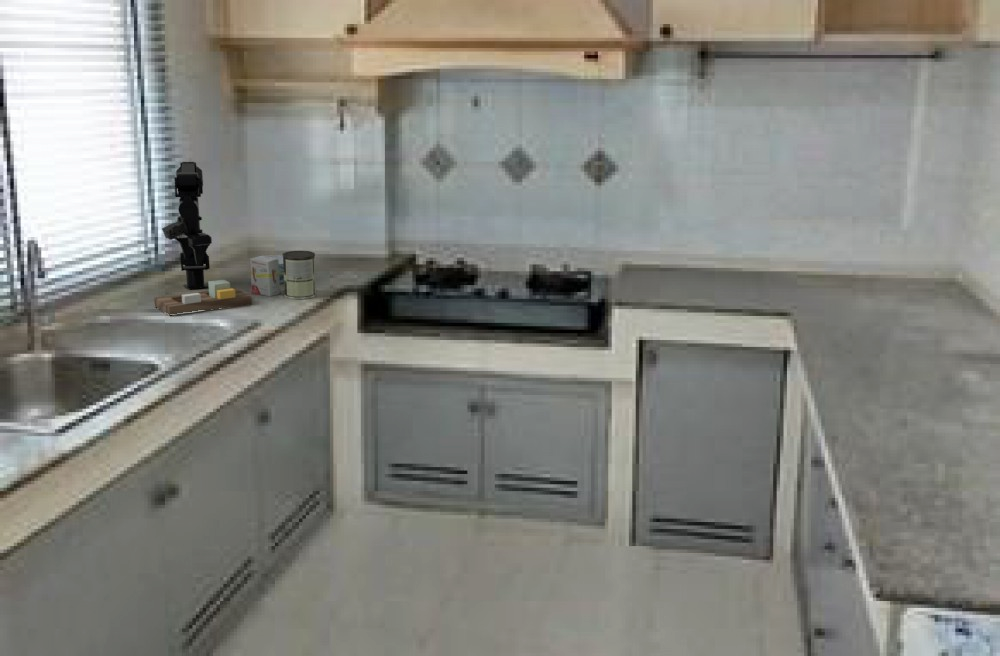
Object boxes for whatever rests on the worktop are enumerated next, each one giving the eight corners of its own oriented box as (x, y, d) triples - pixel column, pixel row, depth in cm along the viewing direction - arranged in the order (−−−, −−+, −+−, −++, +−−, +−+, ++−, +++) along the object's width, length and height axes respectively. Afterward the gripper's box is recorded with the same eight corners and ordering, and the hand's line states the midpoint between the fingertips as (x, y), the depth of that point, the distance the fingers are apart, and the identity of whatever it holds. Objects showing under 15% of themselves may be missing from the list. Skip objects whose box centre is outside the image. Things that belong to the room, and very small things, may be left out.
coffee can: (277, 295, 323) (276, 253, 319) (304, 290, 330) (303, 249, 326) (295, 301, 316) (294, 258, 312) (322, 296, 323) (321, 254, 319)
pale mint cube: (209, 303, 312) (208, 281, 310) (224, 301, 315) (223, 279, 313) (215, 306, 308) (214, 284, 306) (231, 304, 311) (229, 282, 309)
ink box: (250, 292, 325) (249, 257, 322) (261, 290, 329) (260, 255, 326) (269, 296, 321) (268, 261, 318) (280, 293, 325) (279, 258, 322)
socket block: (154, 307, 305) (153, 290, 304) (234, 296, 320) (234, 280, 319) (169, 316, 295) (168, 298, 294) (251, 304, 311) (250, 288, 309)
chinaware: (244, 279, 343) (243, 258, 341) (284, 274, 352) (283, 253, 350) (262, 288, 332) (261, 266, 330) (303, 283, 340) (302, 261, 338)
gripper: (153, 211, 311) (157, 259, 316) (175, 220, 297) (178, 271, 302) (187, 208, 318) (190, 255, 322) (211, 217, 304) (213, 266, 308)
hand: (192, 262), depth 314 cm, fingers open, 9 cm apart
